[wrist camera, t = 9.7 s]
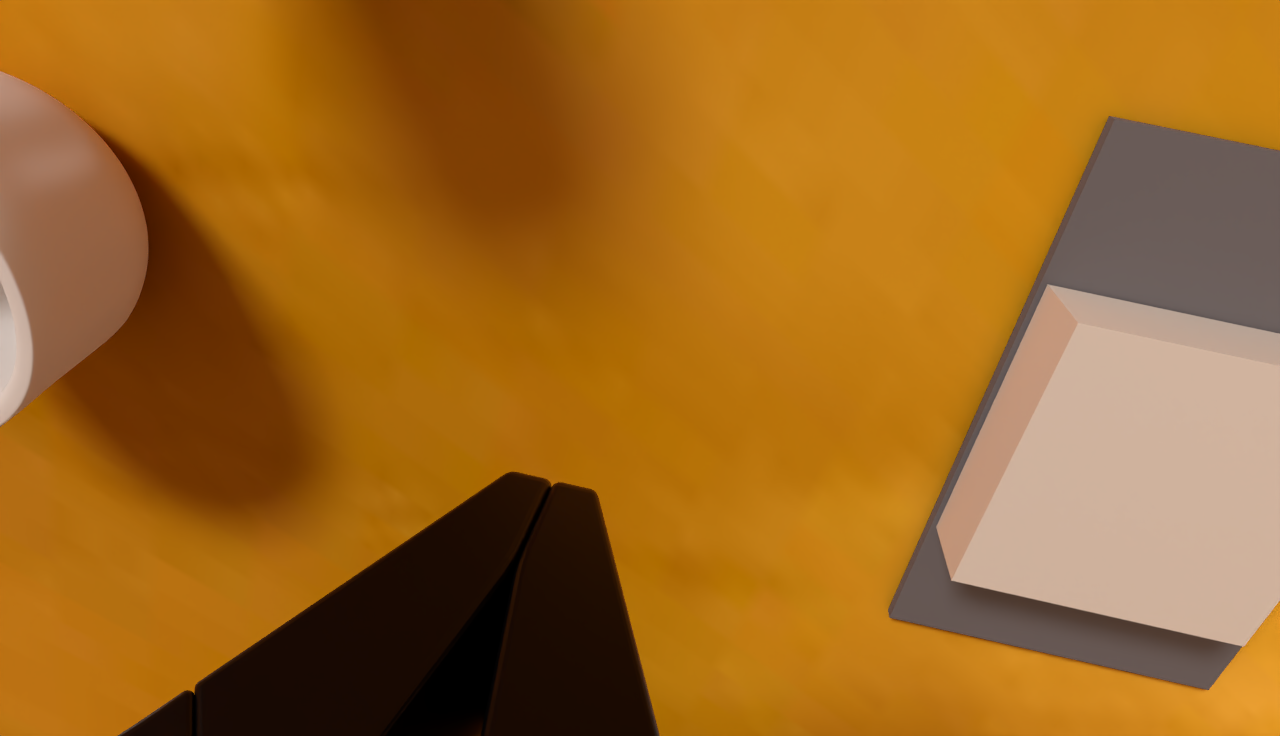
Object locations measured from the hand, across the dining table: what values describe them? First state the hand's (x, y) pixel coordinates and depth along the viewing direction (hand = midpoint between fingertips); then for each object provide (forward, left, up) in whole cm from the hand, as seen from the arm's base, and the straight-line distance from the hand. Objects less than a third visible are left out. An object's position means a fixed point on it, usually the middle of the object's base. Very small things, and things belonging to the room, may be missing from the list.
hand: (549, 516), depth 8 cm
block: (-4, -8, -11) cm, 14 cm away
